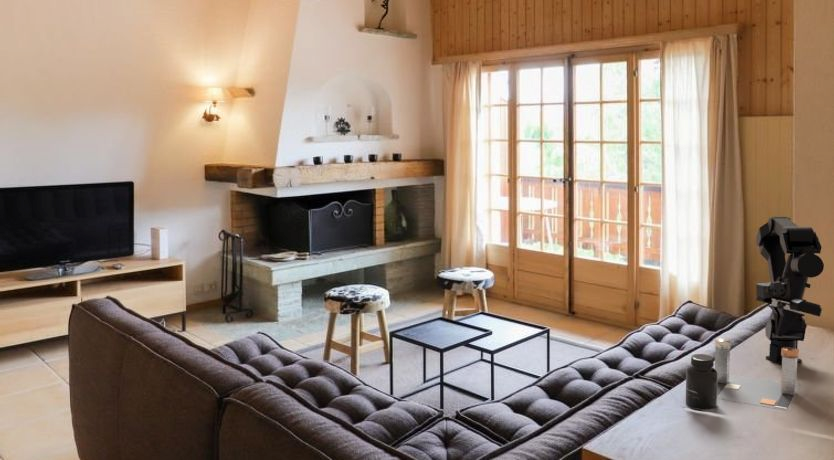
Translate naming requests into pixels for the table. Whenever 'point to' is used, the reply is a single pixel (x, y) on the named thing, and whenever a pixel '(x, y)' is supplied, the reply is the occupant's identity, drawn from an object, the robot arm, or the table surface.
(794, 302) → the robot arm
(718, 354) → the lever
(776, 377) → the table surface
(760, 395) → the switch board
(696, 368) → the supplement bottle
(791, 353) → the lever
